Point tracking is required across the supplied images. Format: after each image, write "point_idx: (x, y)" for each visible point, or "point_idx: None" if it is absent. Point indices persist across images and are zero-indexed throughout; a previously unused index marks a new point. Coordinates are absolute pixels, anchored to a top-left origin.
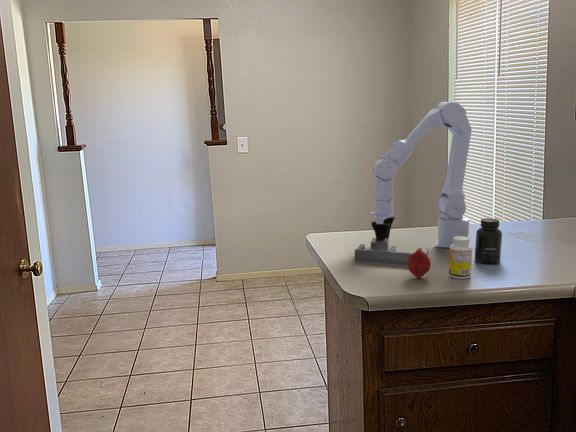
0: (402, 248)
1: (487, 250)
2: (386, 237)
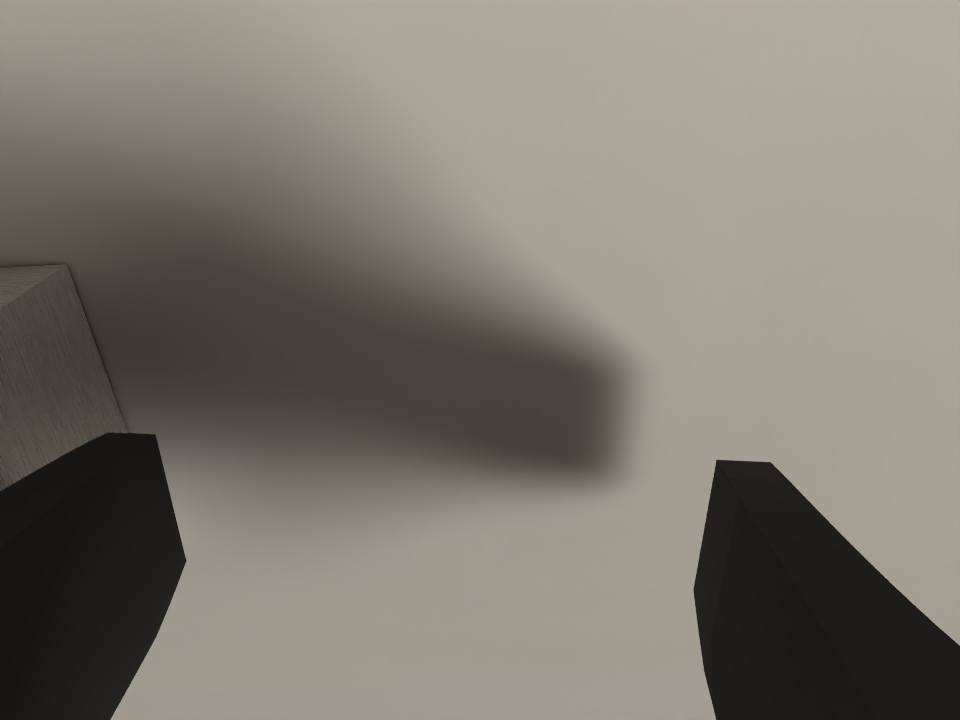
0: (461, 716)
1: None
2: (711, 608)
